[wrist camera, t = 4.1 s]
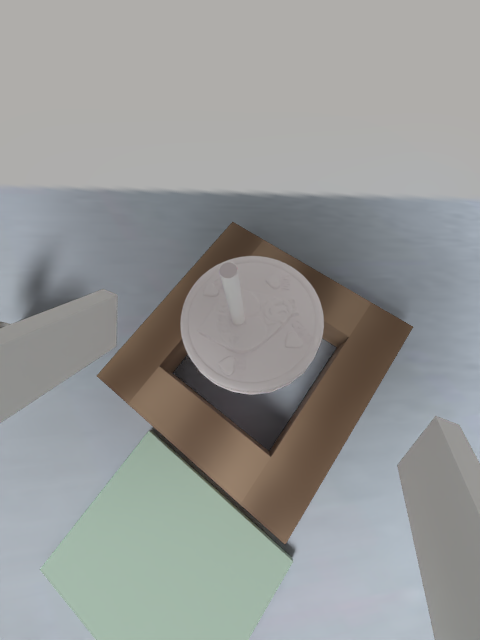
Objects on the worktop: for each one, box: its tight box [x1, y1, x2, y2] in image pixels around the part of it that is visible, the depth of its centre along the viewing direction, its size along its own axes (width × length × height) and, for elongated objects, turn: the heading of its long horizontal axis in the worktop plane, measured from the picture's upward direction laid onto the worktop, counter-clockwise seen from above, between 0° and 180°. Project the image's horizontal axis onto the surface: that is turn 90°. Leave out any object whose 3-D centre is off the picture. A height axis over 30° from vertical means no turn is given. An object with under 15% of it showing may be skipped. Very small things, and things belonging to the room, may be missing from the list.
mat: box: [40, 431, 293, 640], centre depth 17 cm, size 12×10×1 cm
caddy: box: [97, 222, 413, 544], centre depth 20 cm, size 15×15×3 cm
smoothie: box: [180, 256, 324, 395], centre depth 15 cm, size 6×6×14 cm
